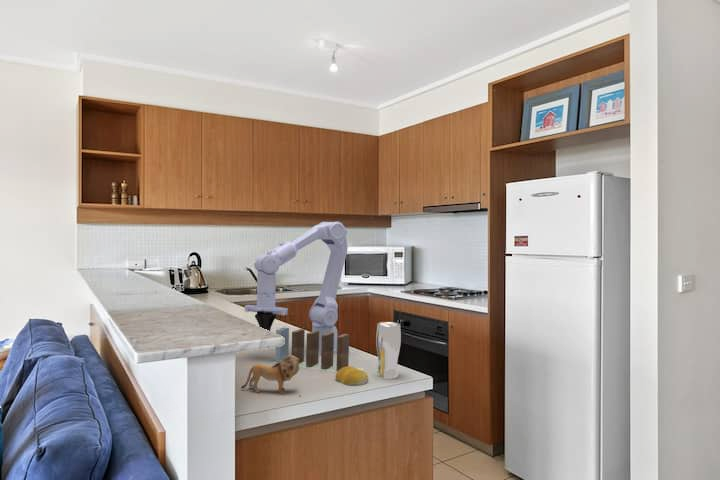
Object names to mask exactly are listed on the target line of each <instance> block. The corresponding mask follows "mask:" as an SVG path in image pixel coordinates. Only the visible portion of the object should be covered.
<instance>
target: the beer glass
mask: <svg viewBox="0 0 720 480" xmlns="http://www.w3.org/2000/svg"><path fill="white" fill-rule="evenodd" d="M376 326H377V327H376V336H375V338H376V339H375V340H376V341H375V343H376V344H375V345H376V353H377V359H378V360H377V361H378V362H377V363H378V364H377V365H378V366H377V372H376V377H377V378H379V379H385V380H394V379H398V378H399V373H398V372H399V371H398V362H399V359H398V358H399V355H400V350H401V349H400V348H401V343H402V342H401V341H402V340H401V339H402V337H401V336H402V333H401V324H400V323H398V322H394V321H393V322H391V321H380V322H378V323H377V324H376Z"/></svg>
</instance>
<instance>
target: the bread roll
mask: <svg viewBox="0 0 720 480" xmlns="http://www.w3.org/2000/svg"><path fill="white" fill-rule="evenodd" d="M357 368H358V367H354V366H351V365H348V366H346V367H343V368H341V369H340V370H339V371H338V372H335V373H336V374H335V380H336V381H337V382H338V383H341V384H343V385H346V386H362V385H366V384H367V383H368V381H369V375H368V374H367V372H366V371H365V370H364V371H361V370H358V369H357Z"/></svg>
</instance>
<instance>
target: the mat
mask: <svg viewBox="0 0 720 480" xmlns="http://www.w3.org/2000/svg"><path fill="white" fill-rule="evenodd" d="M275 362H276V360H275V361H273V362H272V364H274V365H276V364H277V363H275ZM299 368H301V369H302V368H303V369H309V370H316V371H323V372H330V373H337V372H338V371H336V368H337V364H333V366H331V367H330V368H328V369H326V370H325V369H321V362H318V364H317V365H315V366H313V367H311V368H310V367H306V360H304V362H302V363H300V364H299ZM356 368H357V369H358V370H361V371H364V372H365V370H366V368H361V367H356Z"/></svg>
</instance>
